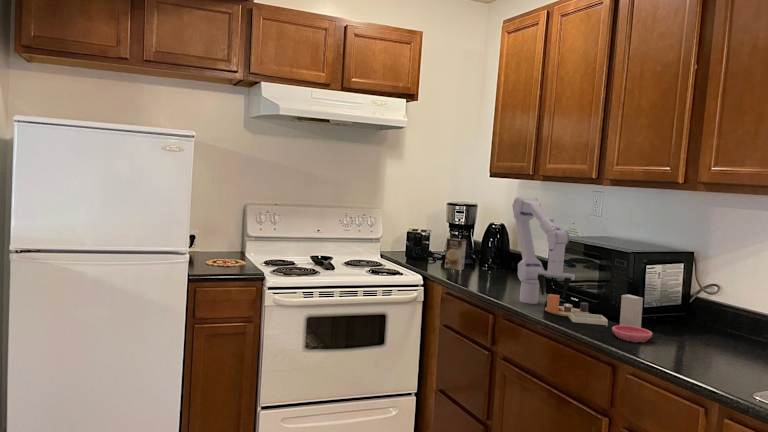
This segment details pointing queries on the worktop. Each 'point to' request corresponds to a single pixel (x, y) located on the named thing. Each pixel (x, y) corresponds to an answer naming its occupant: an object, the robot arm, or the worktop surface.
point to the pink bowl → (632, 333)
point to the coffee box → (455, 253)
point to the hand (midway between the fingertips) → (552, 296)
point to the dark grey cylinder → (582, 309)
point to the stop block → (553, 303)
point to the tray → (588, 318)
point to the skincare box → (631, 310)
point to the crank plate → (564, 311)
